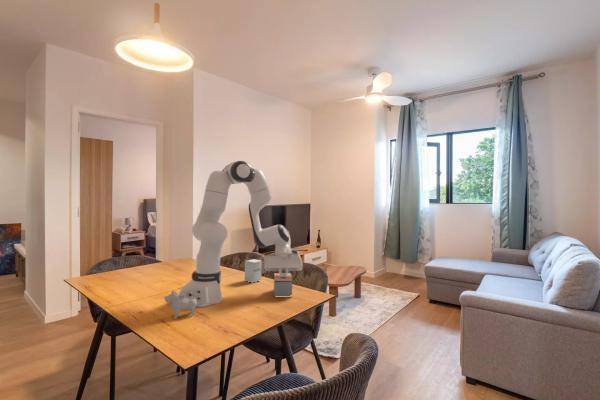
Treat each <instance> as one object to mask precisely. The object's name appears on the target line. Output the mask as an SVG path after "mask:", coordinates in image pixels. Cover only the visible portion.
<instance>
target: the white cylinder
mask: <svg viewBox="0 0 600 400" xmlns="http://www.w3.org/2000/svg"><path fill="white" fill-rule="evenodd" d="M262 263H263V261H262V260H261V259H255V258H253V259H249V260H245V261H244V282H245V281H248V282H247V283H249V282H252V283H251V284H254V283H253V282H255V283H258V282H257V281H259V280H261V281H262V269H263V268H262V266H263V265H262ZM259 282H260V281H259Z"/></svg>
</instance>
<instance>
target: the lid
mask: <svg viewBox="0 0 600 400" xmlns="http://www.w3.org/2000/svg"><path fill="white" fill-rule="evenodd" d="M273 277H274V278H273V282H274V281H292V282H293V276H292V273H291V272H288V274H287V278H281V275H280V274H279V272H277V273H276V272H274V273H273Z"/></svg>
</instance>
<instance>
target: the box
mask: <svg viewBox="0 0 600 400" xmlns="http://www.w3.org/2000/svg"><path fill="white" fill-rule="evenodd" d="M290 295H292V296H293V280H292V281H274V280H273V297H274V296H290Z"/></svg>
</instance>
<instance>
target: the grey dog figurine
mask: <svg viewBox="0 0 600 400" xmlns="http://www.w3.org/2000/svg"><path fill="white" fill-rule="evenodd" d="M181 296H183V297H181ZM163 298H164V300H165V302H166V303H167V304H168V303H169V307H170V309H171V310H172V311H174V313H173V316H174V317H173V319H174V318H176V319H178V316H179V313H180V311H187V310H189V311H190V312H189V313H190V314H191V315H190V317H191V318H192V316H193V317H194V316H195V311H196V308H197V307H196V305H197V301H196V298H195V297H190V298H185V294H180V295H179V292H176V291H175V290H172V291H171V293H170V294H168V295H165V296H164V297H163Z"/></svg>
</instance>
